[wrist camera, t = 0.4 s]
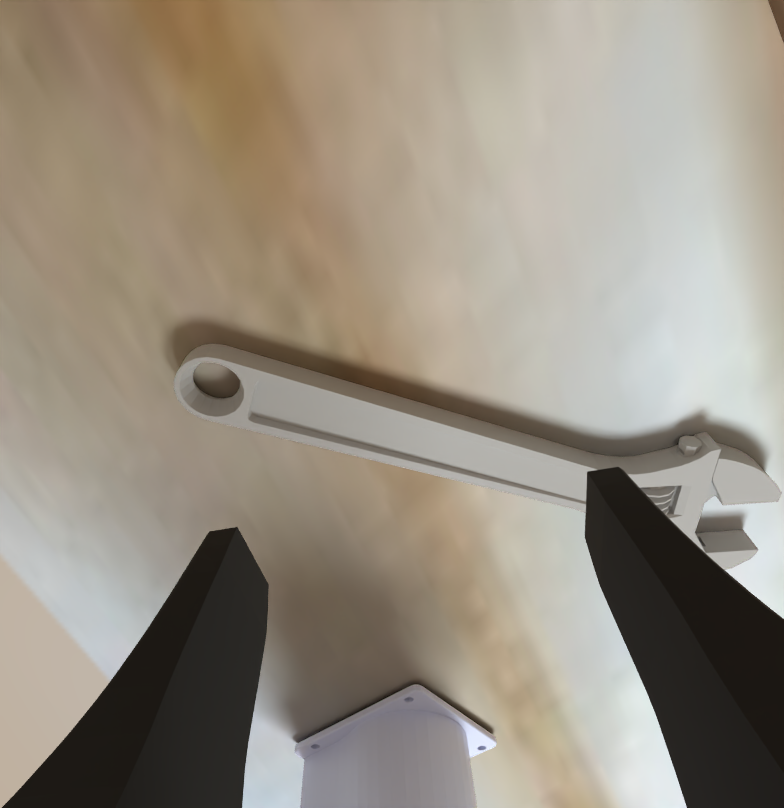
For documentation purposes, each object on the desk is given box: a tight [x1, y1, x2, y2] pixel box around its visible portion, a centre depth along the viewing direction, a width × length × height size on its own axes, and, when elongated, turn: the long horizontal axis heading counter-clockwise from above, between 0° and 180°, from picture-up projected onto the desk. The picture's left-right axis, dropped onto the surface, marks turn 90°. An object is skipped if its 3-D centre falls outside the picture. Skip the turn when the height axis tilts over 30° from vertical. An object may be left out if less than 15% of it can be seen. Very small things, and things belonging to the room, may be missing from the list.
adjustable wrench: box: [174, 343, 782, 570], centre depth 22 cm, size 25×6×2 cm, turn 66°
